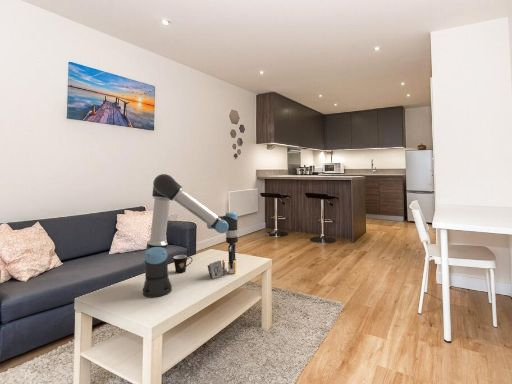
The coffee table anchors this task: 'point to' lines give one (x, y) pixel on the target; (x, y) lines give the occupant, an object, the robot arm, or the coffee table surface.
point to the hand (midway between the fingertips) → (232, 271)
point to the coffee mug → (180, 263)
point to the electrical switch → (215, 269)
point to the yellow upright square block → (234, 267)
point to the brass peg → (223, 264)
